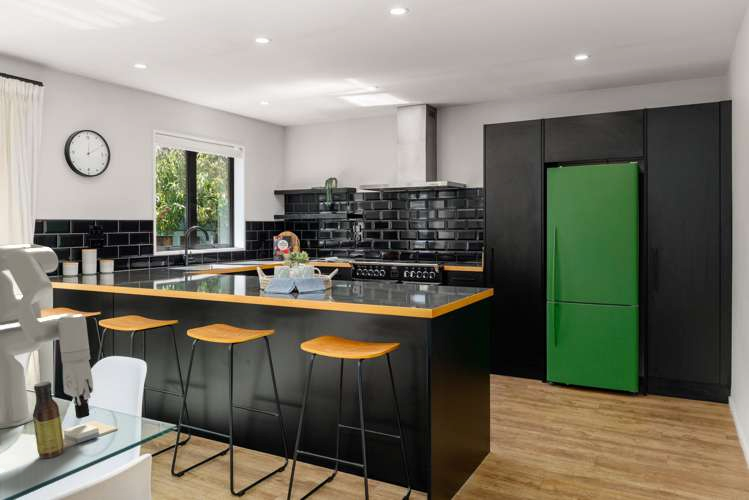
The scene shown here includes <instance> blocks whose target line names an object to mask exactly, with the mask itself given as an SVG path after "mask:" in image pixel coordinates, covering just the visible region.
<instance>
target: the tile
mask: <svg viewBox="0 0 749 500" xmlns="http://www.w3.org/2000/svg"><path fill="white" fill-rule="evenodd" d="M85 423H86V422H85ZM85 423H82V424H78V425H75V426H71V427H70V428H65V429H63V430H64V438H65V439H68V440H71V441H74V442H77V443H78V444H80V442H81V443H83V441H84V442H86V441H89V440H91V438H92V439H94V437H95V438H98V437H100V436H99V429H98V427H94V426H91V425H88V424H85ZM97 436H98V437H97ZM88 439H89V440H88Z"/></svg>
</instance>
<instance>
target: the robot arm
mask: <svg viewBox="0 0 749 500" xmlns="http://www.w3.org/2000/svg"><path fill="white" fill-rule="evenodd" d="M58 258H59V257H58V255H57V253H56V252H55V251H54V249H51V248H50V247H48V246H44V245H39V244H35V243H19V244H18V243H16V244H15V243H14V244H13V243H12V244H0V326H5V325H10V324H17V323H18V324H19V326H14V327H7V328H1V329H0V430H1V429H8V428H13V427H18V426H21V425H24V424H27V423H30V422H32V421H34V420H33V413H34V412H30V409H29V399H28V392H27V391H28V389H27V383H26V375H25V369H24V368H25V367H24V366H23V364H22V363H21V362H20V361H19V360H18V359H17V358H16V357H15V356H19V355H23V354H27V353H33V352H36V351H38V350H39V349H41V348H42V346H43V344H44V343H48V342H52V341H57V340H59V348H60V349H59V350H60V357H61V364H62V385H63V393H64V394H66V395H67V396H71V397H72V399H73V404H74V410H75V418H77V419H83V418H87V417H89V416H90V409H89V399H91V394H92V393H93V392H94V381H93V374H92V369H91V368H92V367H91V365H90V361H89V360H91V354H90V351H91V350H90V345H89V343H90V342H89V336H88V335H89V334H88V327H87V320H86V318H87V317H85V315H84V314H80V313H76V314H73V313H69V312H67V313H60V314H59V313H58V314H53V315H47V316H42V310H41V305H40V302H39V301H40V300H41V299H43V298H45V297H46V296H48V295H49V294H50V293H51V292H52V289H53V283H52V282H51V280H50V278H49V277H48V275H47V273H53V272H54V271H57V269H58V267H59V259H58ZM6 271H9V272H10V274H11V276H12V278H13V281H14V282H15V284H16V286H17V287H18V289H19V291H20V294H19V293H18V294H15V293H14V284H13V281H12V278H10V277H9V276H8V274H7V273H5V272H6Z"/></svg>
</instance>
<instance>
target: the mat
mask: <svg viewBox="0 0 749 500" xmlns="http://www.w3.org/2000/svg"><path fill="white" fill-rule="evenodd" d="M85 424H88V425H91V426H94V427H98V429H99V436H97V437H94V438H95V439H96V438H98V437H101V436H104V435H106V434H110V433H112V432H116V431H118V430H119V428H118V427H116V426H113V425H109V424H106V423H103V422H99V421H97V420H92V421H88V422H85ZM64 430H65V429H62V434H63V442H64V446H63V447H64V449H66V448H68V447H71V446H75V445H77V444H80V443H83V442H85V441H83V442H80V443H77V442H74V441H71V440H68V439H65V438H64ZM115 430H116V431H115ZM94 438H91V439H94ZM91 439H88V440H87V441H89V440H91Z"/></svg>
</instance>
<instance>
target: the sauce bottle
mask: <svg viewBox="0 0 749 500" xmlns="http://www.w3.org/2000/svg"><path fill="white" fill-rule="evenodd" d="M33 390H34V392H35V393H34V394H35V405H34V410H33V412H32V413H33V420H32V421H33V425H34V427H33V428H34V433H35V434H34V435H35V443H36V448H37V453H38V456H39V458H40V459H50V458H55V457H57V456H59V455H61V454H62V453H64V452H65V448H64V447H63V446H64V442H63V434H62V430H63V428H62V421H61V415H60V409H59V405H58V403H57V402H56V401H55V400H54V398H53V395H52V383H51V381H44V382H39V383H35V384H34V385H33Z"/></svg>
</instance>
